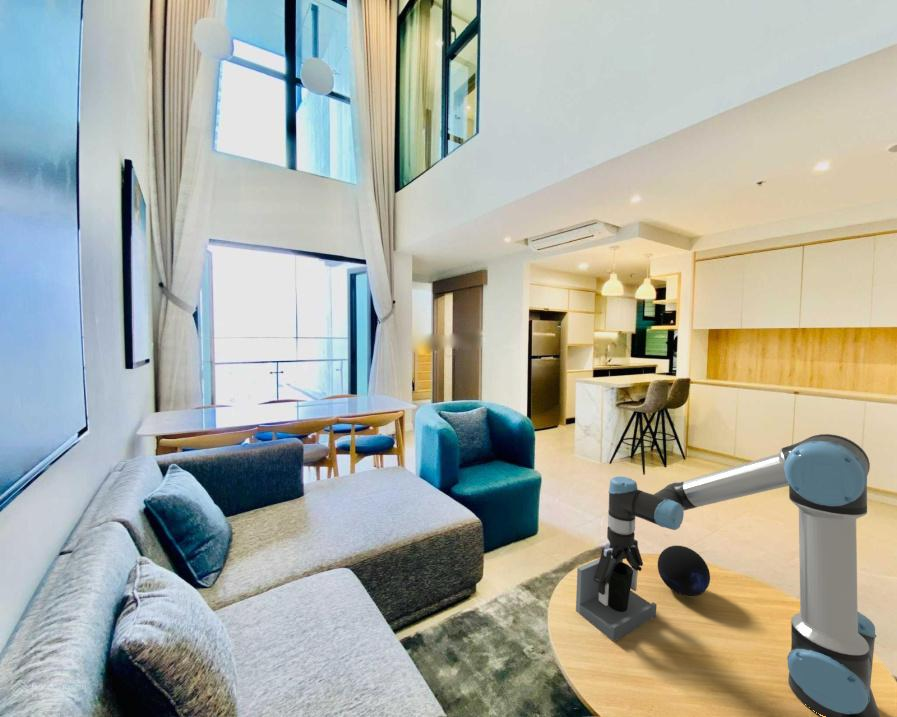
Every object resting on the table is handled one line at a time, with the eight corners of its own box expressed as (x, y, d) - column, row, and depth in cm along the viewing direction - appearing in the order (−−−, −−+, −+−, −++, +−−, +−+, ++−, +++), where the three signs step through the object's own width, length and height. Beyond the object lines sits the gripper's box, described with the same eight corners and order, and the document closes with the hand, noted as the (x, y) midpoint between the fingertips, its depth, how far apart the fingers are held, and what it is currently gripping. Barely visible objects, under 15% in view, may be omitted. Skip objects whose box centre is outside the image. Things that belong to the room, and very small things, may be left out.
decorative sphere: (695, 614, 117) (698, 567, 116) (647, 586, 130) (649, 544, 129) (716, 596, 125) (719, 553, 124) (670, 572, 138) (672, 532, 137)
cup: (601, 606, 115) (603, 569, 115) (606, 593, 121) (608, 557, 121) (628, 618, 111) (631, 578, 110) (633, 603, 117) (635, 566, 116)
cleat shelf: (655, 616, 116) (658, 573, 115) (613, 641, 106) (615, 594, 105) (617, 590, 127) (619, 550, 127) (575, 610, 118) (577, 567, 117)
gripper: (635, 514, 124) (632, 576, 125) (582, 533, 112) (579, 601, 113) (657, 524, 117) (654, 589, 119) (604, 545, 105) (600, 617, 107)
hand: (617, 595), depth 116 cm, fingers open, 13 cm apart
